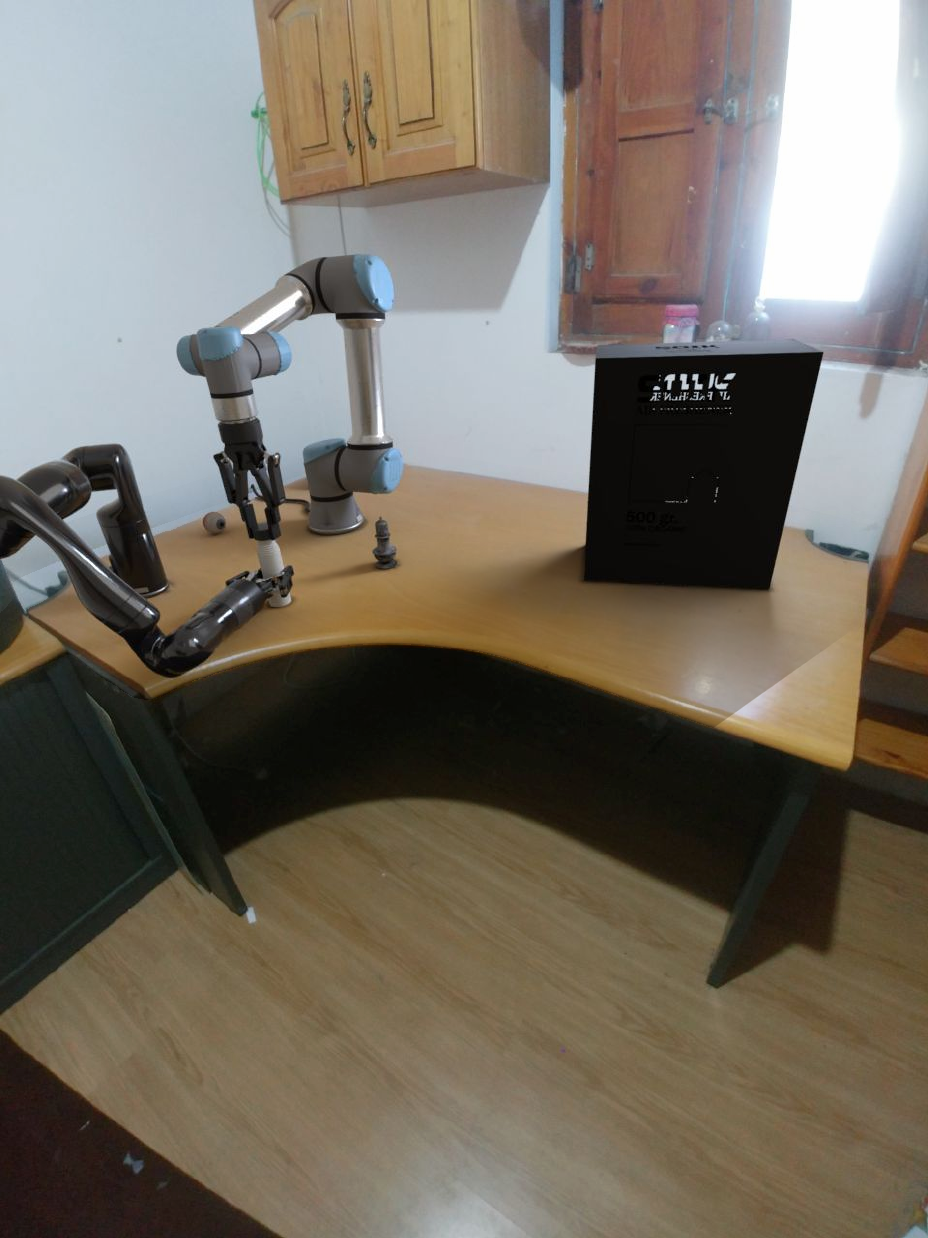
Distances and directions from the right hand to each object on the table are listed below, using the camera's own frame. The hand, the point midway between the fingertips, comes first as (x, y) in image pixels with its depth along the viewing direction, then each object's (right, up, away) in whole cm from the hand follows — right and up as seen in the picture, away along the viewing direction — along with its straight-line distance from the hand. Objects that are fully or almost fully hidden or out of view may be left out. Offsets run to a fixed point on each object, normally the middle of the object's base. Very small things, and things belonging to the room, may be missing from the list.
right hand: (265, 536), depth 123 cm
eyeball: (-28, +7, +46) cm, 54 cm away
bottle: (+1, -13, +8) cm, 15 cm away
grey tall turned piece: (+22, -4, +22) cm, 31 cm away
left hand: (+1, -6, +6) cm, 9 cm away
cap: (0, +2, -1) cm, 2 cm away
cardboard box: (+87, -5, +13) cm, 88 cm away
